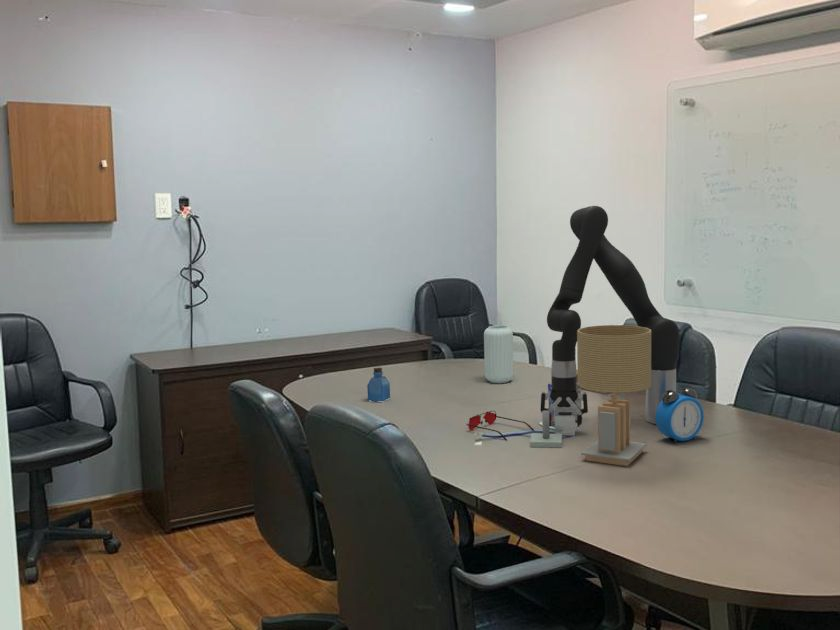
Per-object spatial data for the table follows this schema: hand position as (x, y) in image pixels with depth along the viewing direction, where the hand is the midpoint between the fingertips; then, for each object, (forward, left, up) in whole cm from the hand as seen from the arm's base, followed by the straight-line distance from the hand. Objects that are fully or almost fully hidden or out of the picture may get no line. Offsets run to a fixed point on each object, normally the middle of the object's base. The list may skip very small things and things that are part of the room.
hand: (564, 425), depth 245 cm
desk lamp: (-14, +23, -2) cm, 27 cm away
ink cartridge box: (0, -15, -2) cm, 15 cm away
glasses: (+20, -1, -3) cm, 20 cm away
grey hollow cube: (0, 0, -2) cm, 2 cm away
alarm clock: (-33, +5, -2) cm, 34 cm away
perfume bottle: (+68, -40, -2) cm, 79 cm away
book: (-12, -65, -3) cm, 66 cm away
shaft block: (+5, +11, -2) cm, 12 cm away
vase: (+26, -73, -2) cm, 77 cm away
